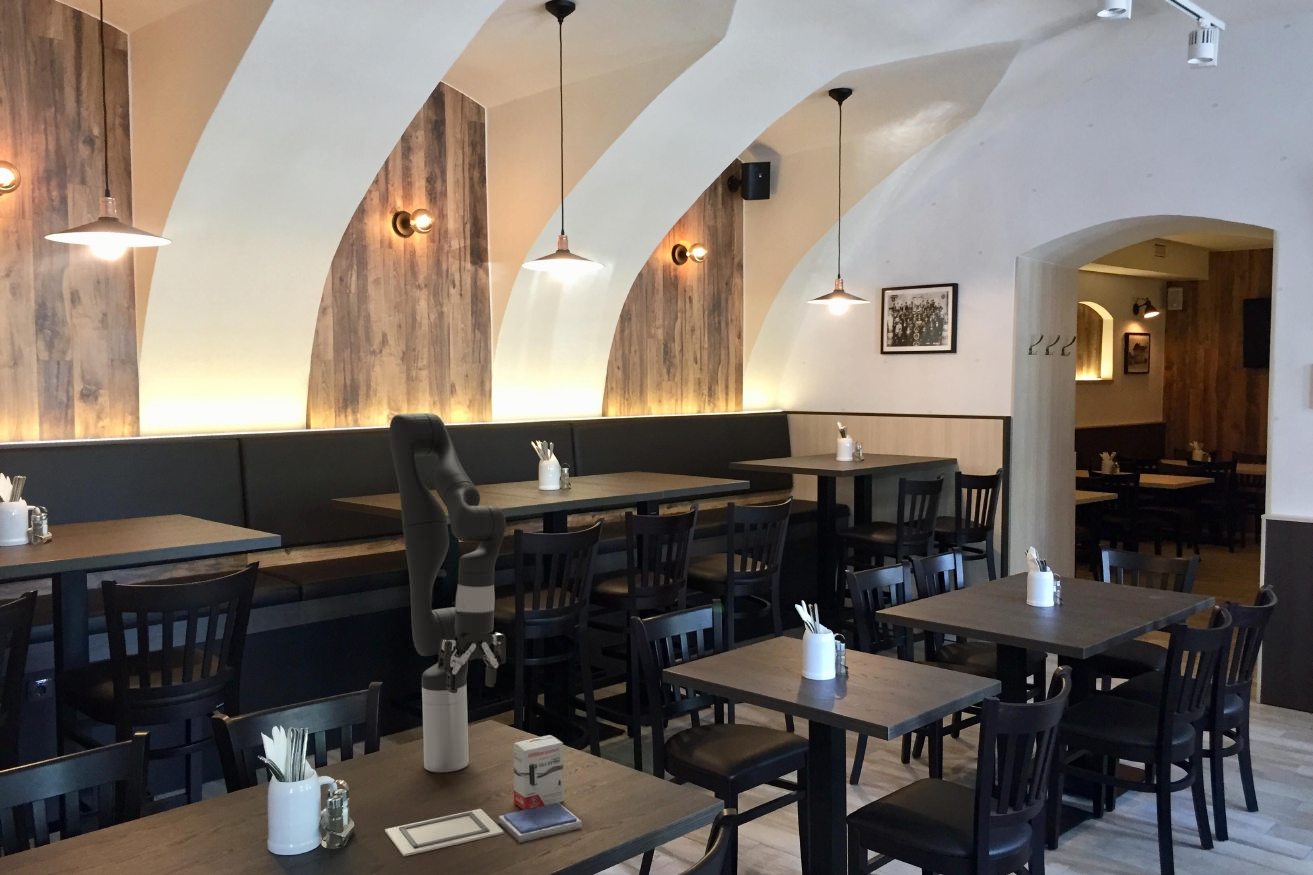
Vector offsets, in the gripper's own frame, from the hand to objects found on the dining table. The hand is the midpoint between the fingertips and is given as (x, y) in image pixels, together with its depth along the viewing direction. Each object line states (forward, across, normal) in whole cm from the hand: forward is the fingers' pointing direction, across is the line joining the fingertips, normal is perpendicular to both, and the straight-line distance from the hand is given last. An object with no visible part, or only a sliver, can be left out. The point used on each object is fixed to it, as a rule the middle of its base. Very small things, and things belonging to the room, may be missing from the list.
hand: (471, 689), depth 209 cm
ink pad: (+20, 0, +23) cm, 31 cm away
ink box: (+20, -7, +15) cm, 26 cm away
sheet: (+21, +14, +14) cm, 28 cm away
